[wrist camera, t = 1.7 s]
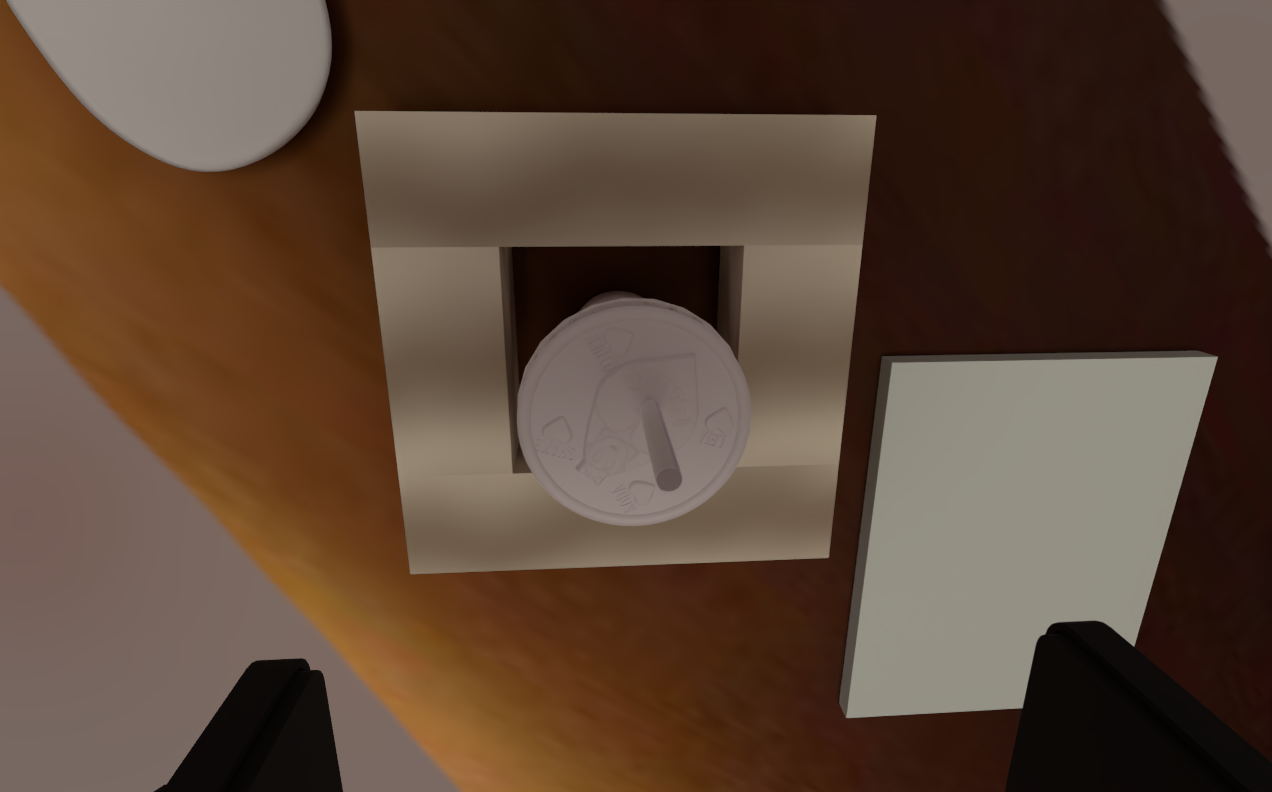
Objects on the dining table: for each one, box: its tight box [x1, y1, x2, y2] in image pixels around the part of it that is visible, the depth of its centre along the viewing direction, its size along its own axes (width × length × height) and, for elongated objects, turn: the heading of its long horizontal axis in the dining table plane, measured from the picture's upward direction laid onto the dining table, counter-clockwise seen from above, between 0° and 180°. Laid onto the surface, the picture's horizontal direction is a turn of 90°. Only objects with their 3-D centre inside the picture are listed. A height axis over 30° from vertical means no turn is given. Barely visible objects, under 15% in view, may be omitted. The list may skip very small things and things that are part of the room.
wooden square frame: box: [354, 111, 876, 574], centre depth 25 cm, size 16×16×4 cm
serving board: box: [839, 351, 1218, 718], centre depth 31 cm, size 18×14×1 cm
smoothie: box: [517, 291, 751, 526], centre depth 20 cm, size 6×6×14 cm
